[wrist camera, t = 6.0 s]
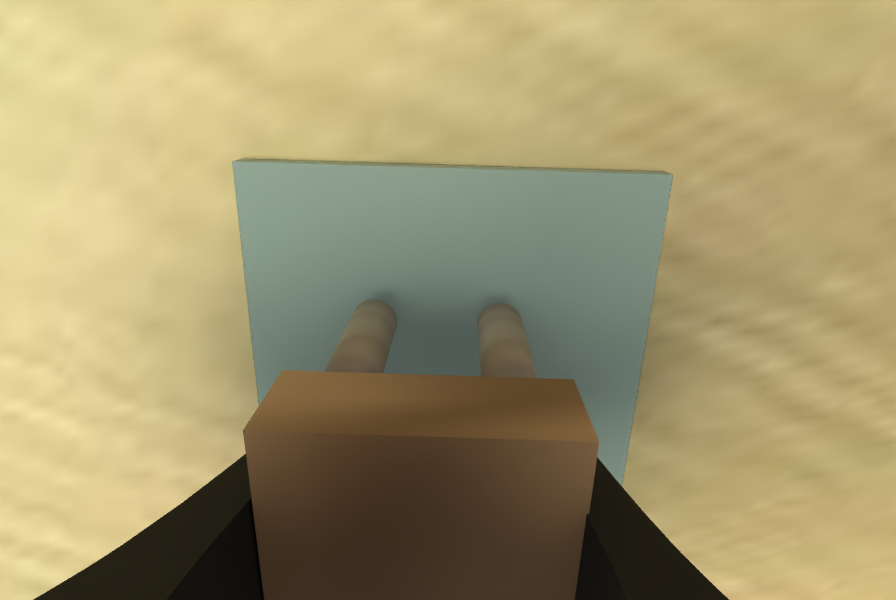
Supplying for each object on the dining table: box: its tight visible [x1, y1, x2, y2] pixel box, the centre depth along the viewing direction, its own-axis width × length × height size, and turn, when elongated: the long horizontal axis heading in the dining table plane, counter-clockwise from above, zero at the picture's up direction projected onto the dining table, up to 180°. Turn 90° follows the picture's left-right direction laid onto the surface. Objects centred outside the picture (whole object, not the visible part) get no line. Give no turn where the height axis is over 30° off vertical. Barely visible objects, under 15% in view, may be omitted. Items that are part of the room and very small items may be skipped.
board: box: [232, 159, 673, 486], centre depth 14 cm, size 10×10×1 cm
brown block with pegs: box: [243, 299, 599, 600], centre depth 10 cm, size 4×4×6 cm
